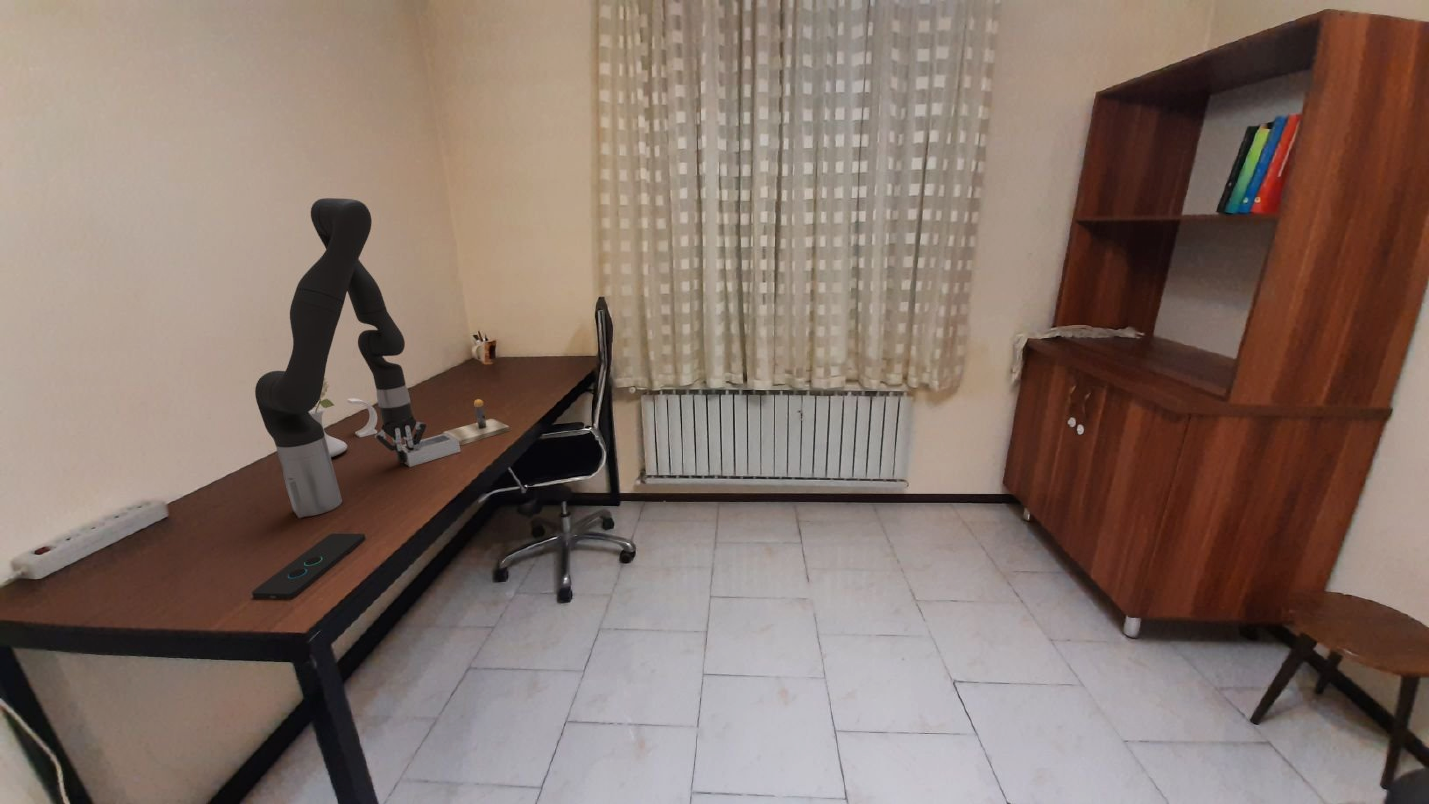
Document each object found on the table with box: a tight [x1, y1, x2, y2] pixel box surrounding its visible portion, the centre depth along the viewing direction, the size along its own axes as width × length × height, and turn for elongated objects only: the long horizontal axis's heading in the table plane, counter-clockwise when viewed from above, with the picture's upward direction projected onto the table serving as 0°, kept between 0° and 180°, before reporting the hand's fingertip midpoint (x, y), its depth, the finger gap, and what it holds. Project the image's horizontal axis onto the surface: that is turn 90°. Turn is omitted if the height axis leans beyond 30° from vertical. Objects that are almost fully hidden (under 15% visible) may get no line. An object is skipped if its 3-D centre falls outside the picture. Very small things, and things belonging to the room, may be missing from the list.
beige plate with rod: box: [442, 398, 511, 446], centre depth 175 cm, size 16×12×11 cm
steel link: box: [402, 433, 461, 468], centre depth 159 cm, size 14×8×4 cm, turn 137°
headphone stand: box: [346, 398, 378, 438], centre depth 178 cm, size 5×6×12 cm
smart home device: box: [251, 533, 366, 600], centre depth 108 cm, size 8×2×20 cm
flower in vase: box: [309, 377, 348, 458], centre depth 158 cm, size 13×11×25 cm
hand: (407, 460), depth 156 cm, fingers closed on steel link, 1 cm apart
